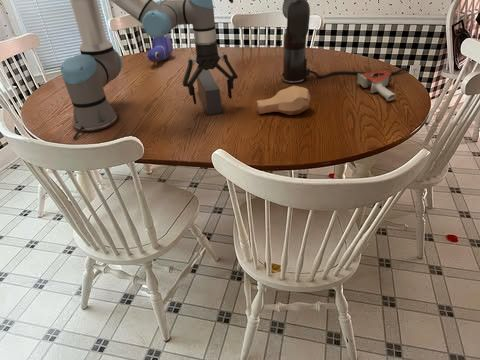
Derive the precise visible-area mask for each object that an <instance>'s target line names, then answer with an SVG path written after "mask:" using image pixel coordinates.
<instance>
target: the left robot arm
mask: <svg viewBox="0 0 480 360" xmlns="http://www.w3.org/2000/svg"><path fill="white" fill-rule="evenodd" d="M69 1H70V4H71V8H72V11H73V14H74V18H75V22H76V27H77V29H78V33H79V36H80V39H81V45H80V46H79V51H80V54H77V55H73V56H72V57H71V56H70V57H68V58H66V59H65V60H64V61H63V62H62V63H61V65H60V72H61V77H62V80H63V82H64V84H65V87H66V90H67V93H68V96H69V99H70V101H71V104H72V108H73V114H72V117H73V118H72V119H73V125H74V128H75V129H76V131H77V132H76V133H74V136H73V137H72V139H74V140H76V138H77V137H78V136H79V134H80V133H81V132H84V133H92V132H99V131H102V130H105V129H107V128H110V127H111V126H113V125H115V124H116V122H117V121H118V116H117V113H116V111H115V110H114V108H113V107H112V105H111V103H110V102H109V101H108V99H107V96H106V92H105V89H104V87H106V86H107V85H108V84H109V83H111V81H113V80H116V78H117V77H118V76H119V74H120V73H121V71H122V69H123V60H122V57H121V55H120V53H119V52H118V51H117V50H116V49H115V48H114V45H113V42H111V41H109V40H108V39H107V38H108V37H107V34H106V29H105V26H104V22H103V17H102V14H101V10H100V6H99V1H98V0H69ZM110 2H112V3H113V4H114V5H115V6H117V7H119V8H120V9H122V10H123V11H124V12H126V13H127V14H128V15H130V16H131V17H132V18H134V19H135V20H136V21H138V22H139V23H140V24H141V25H142V28H143V30H144V32H145V34H147V36H149V37H151V38H152V39H153V38H160V37H162V36H165V35H168V34H169V33H170V32H171V30H173V29H174V28H176V27H177V26H185V25H192V31H193V38H194V43H195V44H194V47H195V55H196V57H195V58H191V57H188V59H187V67H186V70H185V73H184V76H183V79H182V86H183V87H185V88H186V87H187V89H188V94H189V96H190V97H192V101H193V104H194V105H197V97H196V92H195V86H194V84H195V82H197V77H198V76H199V74H200V73H201V72H202V70H208V69H209V70H215V69H216V70H218V71H219V72H221V74H222V75H224V77H226V78H227V79H226V86H227V96H228V98H229V99H231V100H232V98H233V96H232V90H233V89H234V81H235V80H236V79H238V78H239V76H238V75H237V73H236V71H235V70H234V67H233V66H232V65H231V63H230V61H229V58H228V55H227V54H226V52H222V54H219V51H218V49H219V48H218V42H217V30H216V21H215V9H214V8H215V5H214V1H213V0H157V1H155V0H110ZM220 60H221V61H222V62H224V63H225V65H226V66H227V68H228V70H229V71H230V73H231V74H230V73H228V71H227V70H226V69H224V68H223V67H222V66H221V65H220V64H219V62H220ZM195 64H197V67H196V69H195V71H194V72H193V73H192V70H193V67H194V66H195ZM191 73H192V75H191ZM190 76H191V77H190Z"/></svg>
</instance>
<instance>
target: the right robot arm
mask: <svg viewBox="0 0 480 360" xmlns="http://www.w3.org/2000/svg"><path fill="white" fill-rule="evenodd" d="M252 1H254V2H255V1H256V0H252ZM228 2H229V3H230V4H234V0H228ZM281 10H282V15H283V17H284V18H285V19H286V29H285V31H284V33H283V61H282V64H283V65H282V76H281V77H282V81H283V82H285V83H286V84H287V83H288V84H298V83H299V84H300V83H302V82H304V81H306V80H307V77H309V76H310V75H311V74H313V75H315V77H317V78H319V79H322V78H327V77H329V76H332V75H339V74H341V75H343V74H348V75H358V74H359V73H360V74H364V73H369V72H367V71H352V70H351V71H349V70H347V71H345V70H343V71H342V70H340V71H337V70H336V71H332V72H329V73H326V74H324V75H319V74H318V72H316V71H314V70H311V69H310V68H309V67H308V66H307V65H308V58H307V57H306V49H307V36H308V33H309V30H310V29H309V28H310V19H311V8H310V4H309V2H308V0H283V3H282V8H281ZM403 71H405V72H409V73H410V70H409V69H408V68H407V67H402V68H400V69H398V70H396V71H389V72H390V73H391V75H396V74H399V73H401V72H403ZM378 74H379V73H376V74H374V75H373V76H378Z"/></svg>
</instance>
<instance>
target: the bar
mask: <svg viewBox="0 0 480 360" xmlns="http://www.w3.org/2000/svg"><path fill="white" fill-rule="evenodd" d="M196 84H197V85H196V86H197V92H198V94H199V97H200V99H201V103H202V104H203V106H204V109H205V111H206V113H207V116H210V115H215V114H216V115H217V114H222V113H223V111H222V110H223V109H222V101H221V91H220V89H221V88H220V87H219V85H218V84H217V82H216V80H215V78H214V77H213V75H212V73H211V71H210V69H208V70H204V69H203V70H202V72H201V73H200V74H199V76H198V77H197V79H196Z"/></svg>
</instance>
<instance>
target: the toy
mask: <svg viewBox="0 0 480 360" xmlns="http://www.w3.org/2000/svg"><path fill="white" fill-rule="evenodd" d="M147 50H148V51H147V52H146V58H147V59H148V61H150V62H152V63H153V65H154V67H156V66H157V63H158V62H162V61H164V60H166V59H168V58H169V57H170V56H171V55H172V54H173V50H174V46H173V43H172V40H171V38H170V37H169V35H168V34H166V35H164V36H162V37H160V38H153V37H152V43H151V48H150V49H147Z"/></svg>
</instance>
